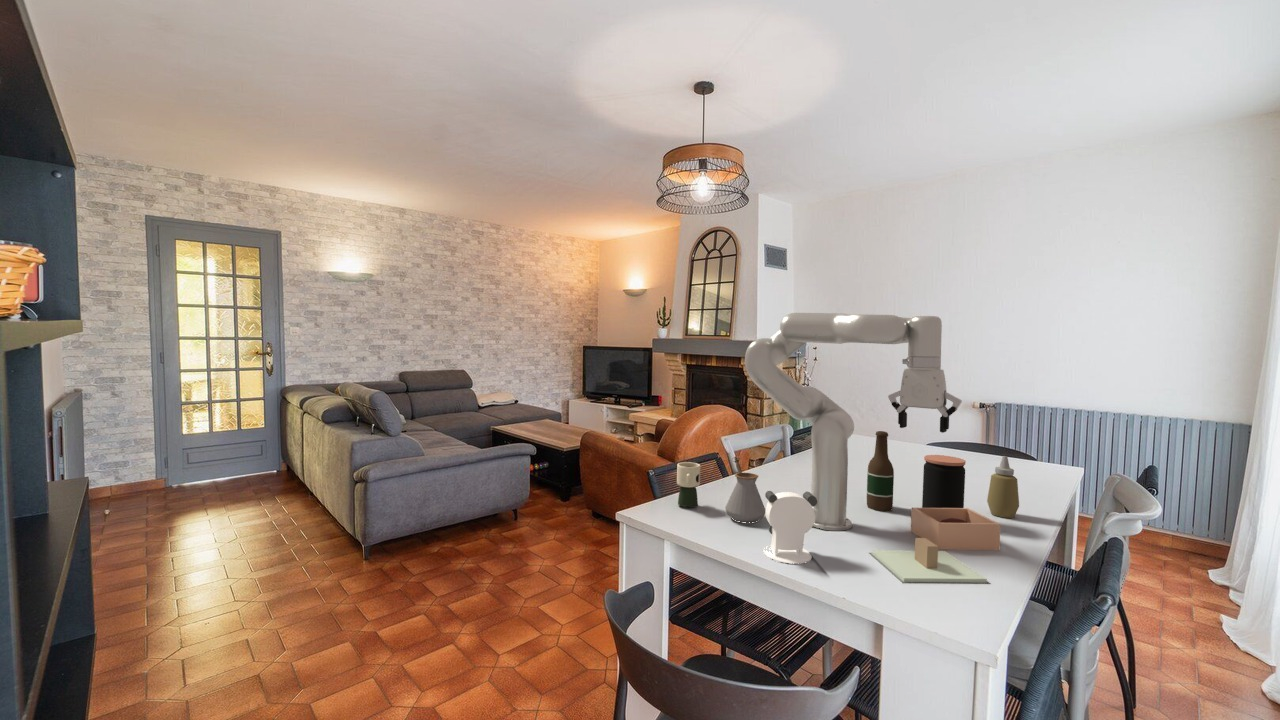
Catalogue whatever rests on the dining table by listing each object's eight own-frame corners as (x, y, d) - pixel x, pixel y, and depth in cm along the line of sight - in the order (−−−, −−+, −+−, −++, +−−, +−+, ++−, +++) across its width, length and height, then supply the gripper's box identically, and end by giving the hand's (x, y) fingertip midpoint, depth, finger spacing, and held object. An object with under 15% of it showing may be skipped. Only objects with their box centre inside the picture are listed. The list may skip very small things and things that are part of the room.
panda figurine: (805, 545, 134) (807, 486, 133) (821, 564, 122) (823, 500, 122) (758, 545, 133) (759, 486, 133) (770, 564, 122) (772, 500, 121)
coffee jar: (952, 514, 161) (954, 455, 160) (970, 526, 150) (973, 463, 150) (915, 512, 162) (917, 454, 161) (931, 524, 151) (933, 462, 151)
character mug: (699, 512, 158) (700, 469, 157) (675, 511, 159) (676, 468, 158) (699, 501, 169) (700, 461, 168) (676, 500, 169) (677, 460, 169)
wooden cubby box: (937, 551, 131) (938, 523, 131) (910, 532, 144) (911, 507, 144) (999, 551, 132) (1000, 524, 132) (966, 533, 144) (967, 508, 144)
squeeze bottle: (987, 509, 166) (989, 452, 166) (1018, 514, 161) (1021, 456, 161) (985, 515, 160) (988, 456, 159) (1018, 521, 155) (1021, 460, 154)
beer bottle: (861, 503, 169) (863, 429, 168) (884, 503, 170) (887, 429, 169) (873, 511, 162) (876, 433, 161) (898, 511, 162) (901, 434, 161)
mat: (902, 585, 112) (902, 582, 112) (868, 555, 128) (868, 552, 128) (990, 586, 113) (990, 583, 113) (945, 555, 129) (945, 553, 129)
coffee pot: (770, 526, 147) (771, 473, 147) (729, 526, 147) (730, 472, 146) (751, 502, 168) (753, 456, 168) (716, 502, 168) (717, 455, 168)
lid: (903, 581, 113) (904, 555, 113) (871, 553, 128) (872, 529, 128) (986, 582, 113) (987, 555, 113) (944, 554, 128) (945, 530, 128)
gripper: (884, 363, 140) (882, 427, 141) (957, 365, 128) (955, 435, 128) (894, 362, 146) (893, 424, 146) (966, 364, 133) (964, 432, 134)
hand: (922, 429), depth 137 cm, fingers open, 9 cm apart
